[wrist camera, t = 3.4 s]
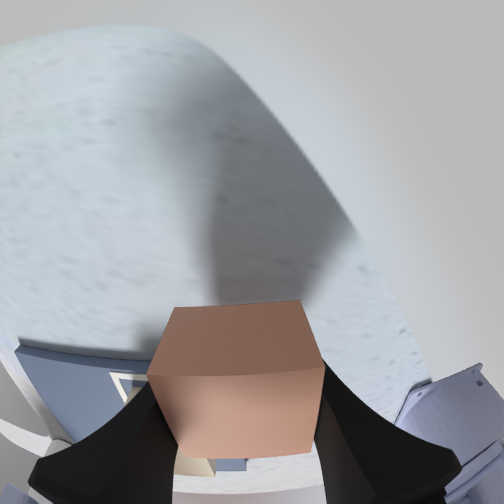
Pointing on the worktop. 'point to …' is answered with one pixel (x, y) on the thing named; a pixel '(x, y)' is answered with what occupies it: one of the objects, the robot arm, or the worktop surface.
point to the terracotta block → (239, 380)
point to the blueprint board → (88, 390)
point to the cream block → (186, 464)
